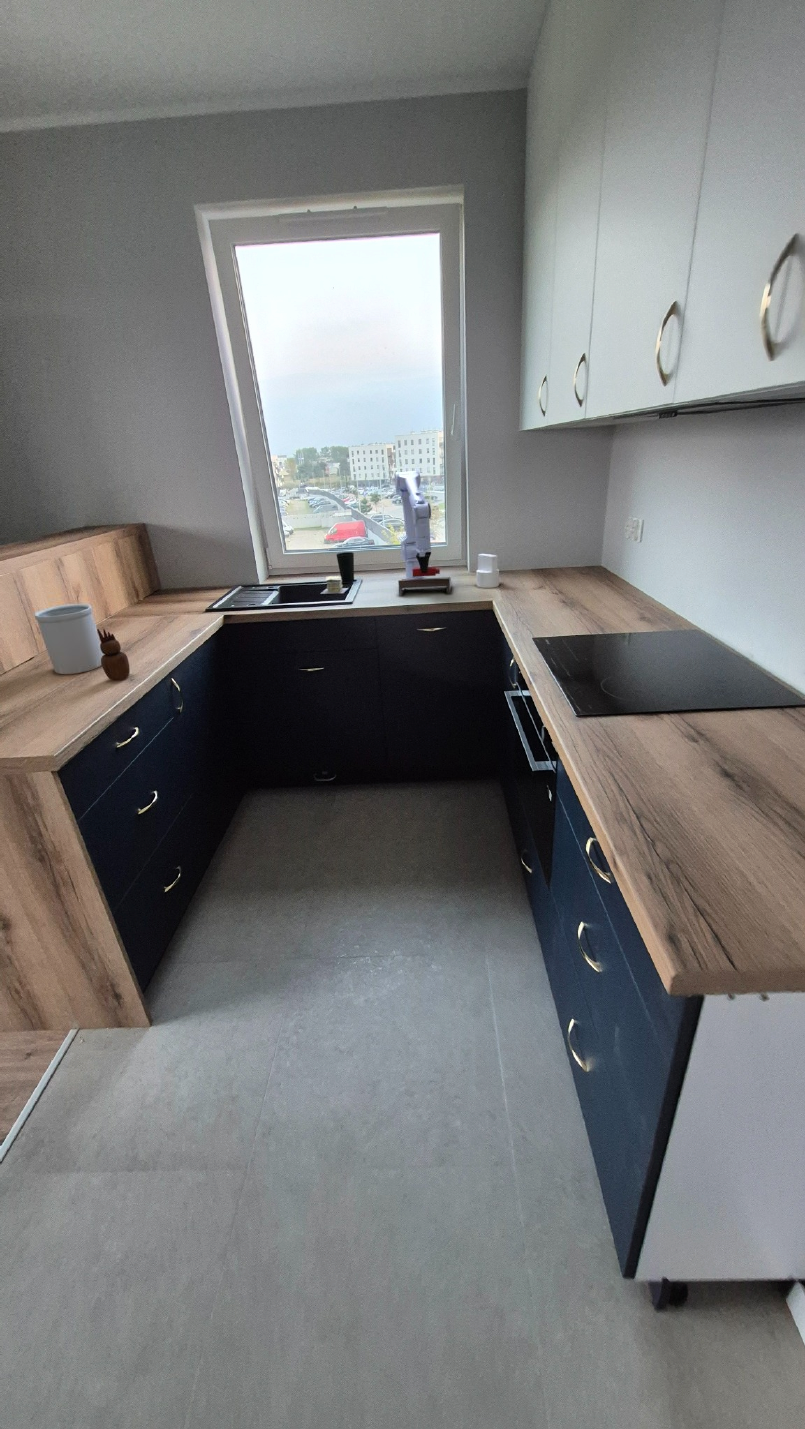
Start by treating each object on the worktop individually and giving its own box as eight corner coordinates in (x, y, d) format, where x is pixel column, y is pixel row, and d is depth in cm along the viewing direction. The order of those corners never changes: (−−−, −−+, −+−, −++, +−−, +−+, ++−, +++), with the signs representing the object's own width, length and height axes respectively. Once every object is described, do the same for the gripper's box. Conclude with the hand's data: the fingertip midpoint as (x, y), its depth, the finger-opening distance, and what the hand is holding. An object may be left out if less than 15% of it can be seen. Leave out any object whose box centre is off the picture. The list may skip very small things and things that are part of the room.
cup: (355, 582, 255) (352, 554, 250) (338, 583, 256) (335, 555, 251) (357, 578, 262) (354, 551, 257) (340, 579, 263) (337, 552, 258)
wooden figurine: (107, 684, 158) (91, 632, 152) (106, 678, 163) (90, 627, 156) (133, 679, 161) (118, 627, 154) (131, 673, 165) (117, 622, 159)
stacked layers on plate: (348, 588, 246) (347, 575, 243) (343, 593, 238) (341, 580, 235) (326, 588, 247) (324, 576, 245) (320, 593, 240) (318, 580, 237)
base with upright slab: (503, 584, 232) (503, 554, 227) (486, 588, 228) (486, 558, 223) (488, 581, 239) (488, 552, 234) (472, 585, 235) (471, 555, 230)
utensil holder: (98, 654, 183) (81, 600, 176) (115, 664, 173) (98, 607, 166) (47, 668, 174) (27, 611, 167) (62, 679, 164) (42, 619, 157)
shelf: (402, 588, 238) (401, 574, 236) (450, 586, 236) (450, 572, 233) (399, 595, 227) (398, 580, 225) (449, 593, 225) (449, 578, 222)
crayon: (413, 575, 231) (413, 567, 229) (439, 574, 229) (439, 566, 228) (412, 576, 228) (412, 569, 227) (439, 575, 227) (439, 568, 225)
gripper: (414, 534, 229) (416, 568, 235) (410, 540, 216) (412, 576, 222) (431, 533, 228) (433, 567, 234) (429, 539, 215) (431, 575, 221)
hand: (424, 572), depth 228 cm, fingers closed on crayon, 3 cm apart
